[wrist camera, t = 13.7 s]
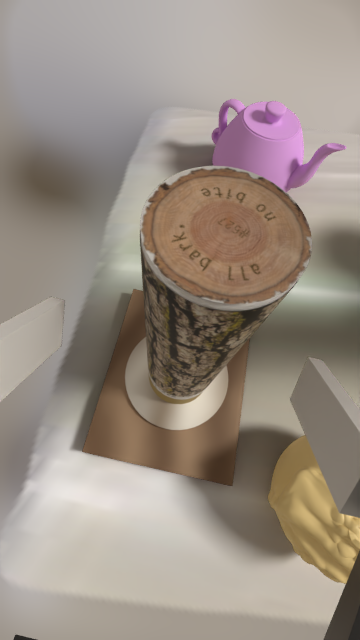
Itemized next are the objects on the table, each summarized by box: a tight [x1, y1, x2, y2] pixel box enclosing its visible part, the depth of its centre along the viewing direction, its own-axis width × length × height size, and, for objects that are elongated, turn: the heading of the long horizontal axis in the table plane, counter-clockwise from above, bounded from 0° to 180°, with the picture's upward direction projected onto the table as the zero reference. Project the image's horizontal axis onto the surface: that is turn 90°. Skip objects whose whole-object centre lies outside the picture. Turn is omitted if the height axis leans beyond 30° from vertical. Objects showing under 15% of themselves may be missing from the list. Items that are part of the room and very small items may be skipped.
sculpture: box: [268, 435, 360, 584], centre depth 28 cm, size 11×12×11 cm
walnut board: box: [82, 289, 250, 486], centre depth 35 cm, size 16×20×2 cm
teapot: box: [212, 99, 346, 192], centre depth 45 cm, size 20×14×12 cm
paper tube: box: [140, 166, 312, 404], centre depth 23 cm, size 7×7×25 cm
